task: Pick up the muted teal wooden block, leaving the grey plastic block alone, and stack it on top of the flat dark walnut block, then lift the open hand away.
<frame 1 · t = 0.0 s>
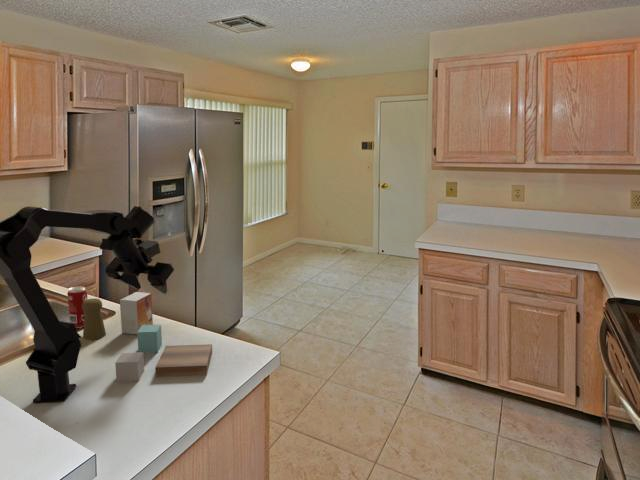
hand: (152, 290, 122), 15 cm above the table, tool tilted 35°, fingers open, 9 cm apart
cork: (94, 336, 128), on the table
soda can: (80, 326, 134), on the table
teal block: (150, 348, 120), on the table
small box: (137, 329, 133), on the table
grey block: (130, 376, 105), on the table
walnut block: (185, 366, 112), on the table
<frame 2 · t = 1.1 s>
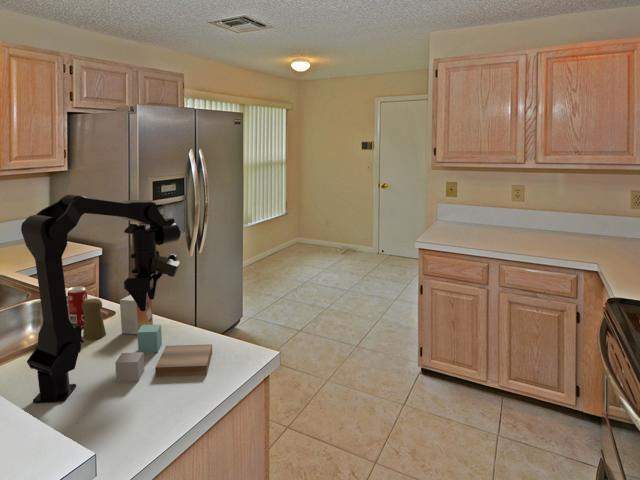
hand: (147, 304, 118), 13 cm above the table, tool pointing down, fingers open, 9 cm apart
nothing on the table moved.
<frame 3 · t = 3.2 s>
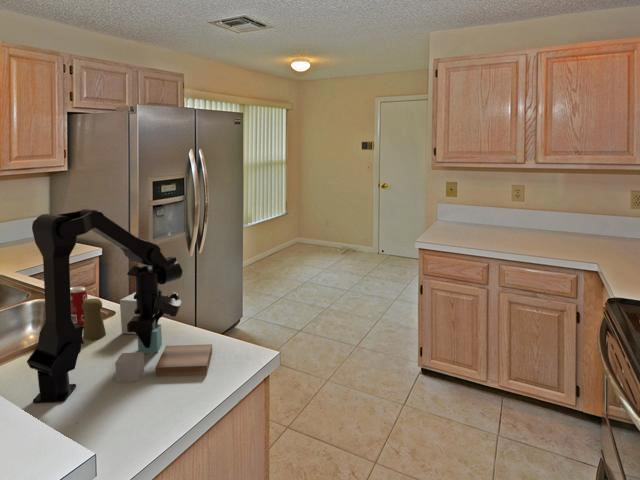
hand: (150, 343, 120), 2 cm above the table, tool pointing down, fingers closed on teal block, 5 cm apart
teal block: (150, 348, 120), on the table, touching gripper
everything else where it was.
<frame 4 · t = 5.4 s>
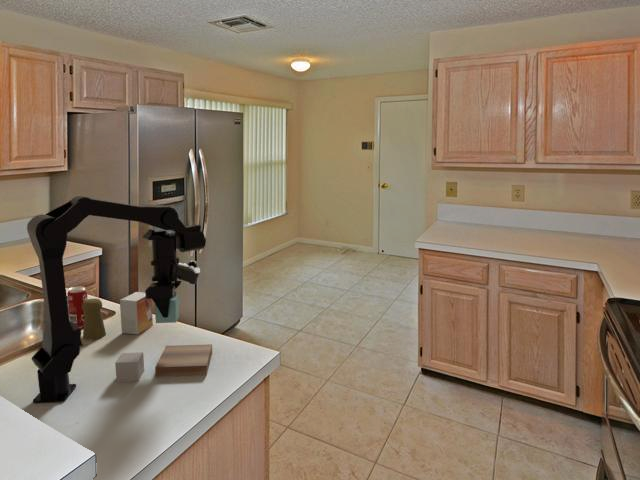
hand: (167, 313, 113), 12 cm above the table, tool pointing down, fingers closed on teal block, 5 cm apart
teal block: (167, 319, 114), point 11 cm above the table, touching gripper
everything else where it was.
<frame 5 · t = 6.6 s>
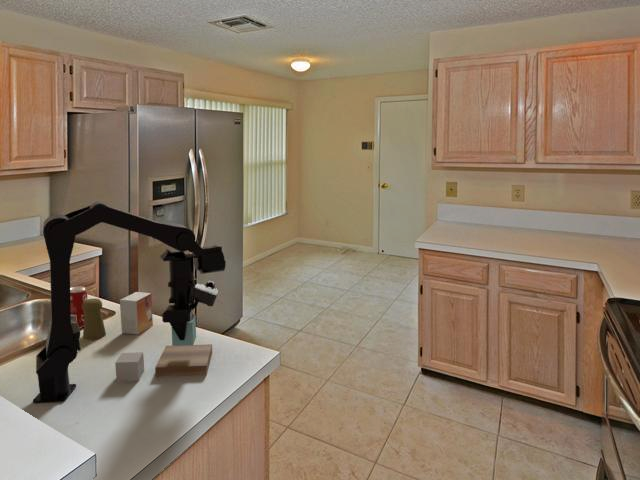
hand: (184, 335, 110), 8 cm above the table, tool pointing down, fingers closed on teal block, 5 cm apart
teal block: (184, 341, 111), point 6 cm above the table, touching gripper
everything else where it was.
when the fingers open (6 cm above the table, at t = 7.7 s): teal block drops 2 cm, resting on walnut block.
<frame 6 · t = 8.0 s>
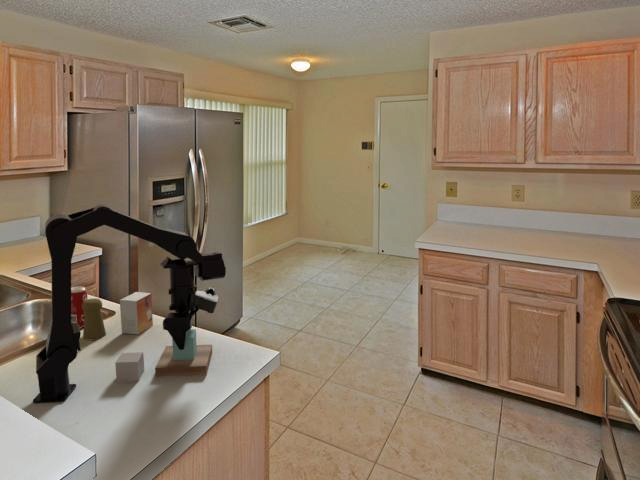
hand: (184, 342, 111), 6 cm above the table, tool pointing down, fingers open, 8 cm apart
teal block: (185, 355, 111), point 2 cm above the table, touching walnut block
walnut block: (185, 366, 112), on the table, touching teal block
everything else where it was.
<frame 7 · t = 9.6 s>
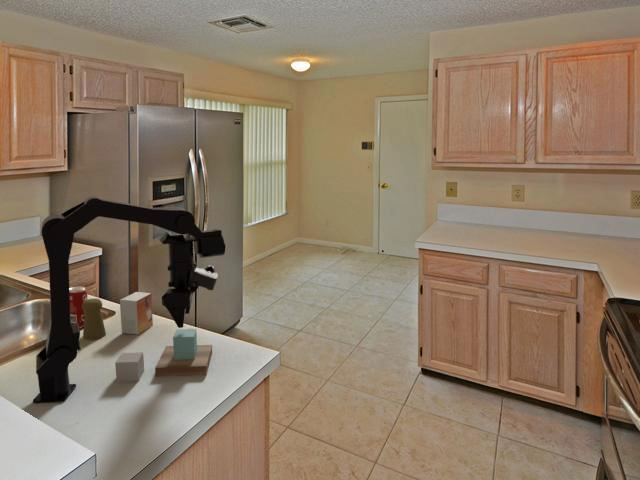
hand: (184, 320, 110), 12 cm above the table, tool pointing down, fingers open, 9 cm apart
teal block: (185, 354, 112), point 2 cm above the table
walnut block: (185, 366, 112), on the table
everything else where it was.
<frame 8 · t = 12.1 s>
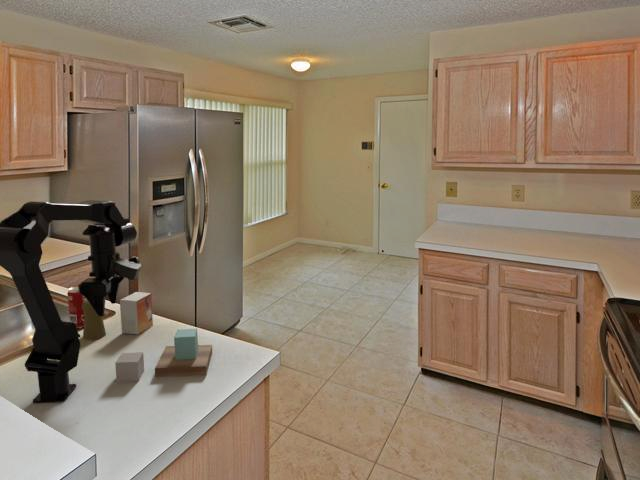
hand: (107, 309, 113), 13 cm above the table, tool pointing down, fingers open, 9 cm apart
teal block: (186, 354, 112), point 2 cm above the table, touching walnut block
walnut block: (185, 366, 112), on the table, touching teal block
everything else where it was.
at the end: teal block inside the target area on the walnut block (0.6 cm from its centre), point 3.0 cm above the walnut block's base; teal block tilted 0°; the gripper is holding nothing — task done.
